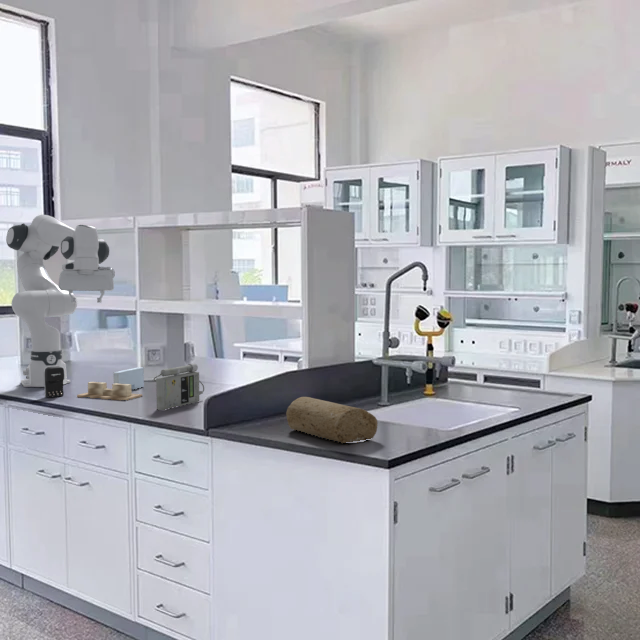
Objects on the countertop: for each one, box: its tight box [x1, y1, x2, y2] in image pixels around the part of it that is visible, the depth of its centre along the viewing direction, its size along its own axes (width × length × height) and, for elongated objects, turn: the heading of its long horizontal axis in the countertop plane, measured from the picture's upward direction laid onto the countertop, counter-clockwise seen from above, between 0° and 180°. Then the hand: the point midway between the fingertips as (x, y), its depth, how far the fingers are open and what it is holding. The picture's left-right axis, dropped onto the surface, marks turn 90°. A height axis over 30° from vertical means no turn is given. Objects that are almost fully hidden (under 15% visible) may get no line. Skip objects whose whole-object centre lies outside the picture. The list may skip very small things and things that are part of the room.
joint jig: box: [76, 381, 143, 401], centre depth 279 cm, size 22×10×5 cm, turn 68°
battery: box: [43, 366, 65, 398], centre depth 279 cm, size 7×4×11 cm, turn 132°
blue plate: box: [112, 366, 145, 390], centre depth 294 cm, size 16×2×8 cm, turn 158°
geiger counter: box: [153, 362, 205, 411], centre depth 262 cm, size 14×6×25 cm
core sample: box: [285, 396, 378, 444], centre depth 212 cm, size 14×26×10 cm, turn 38°
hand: (86, 302), depth 285 cm, fingers open, 8 cm apart
